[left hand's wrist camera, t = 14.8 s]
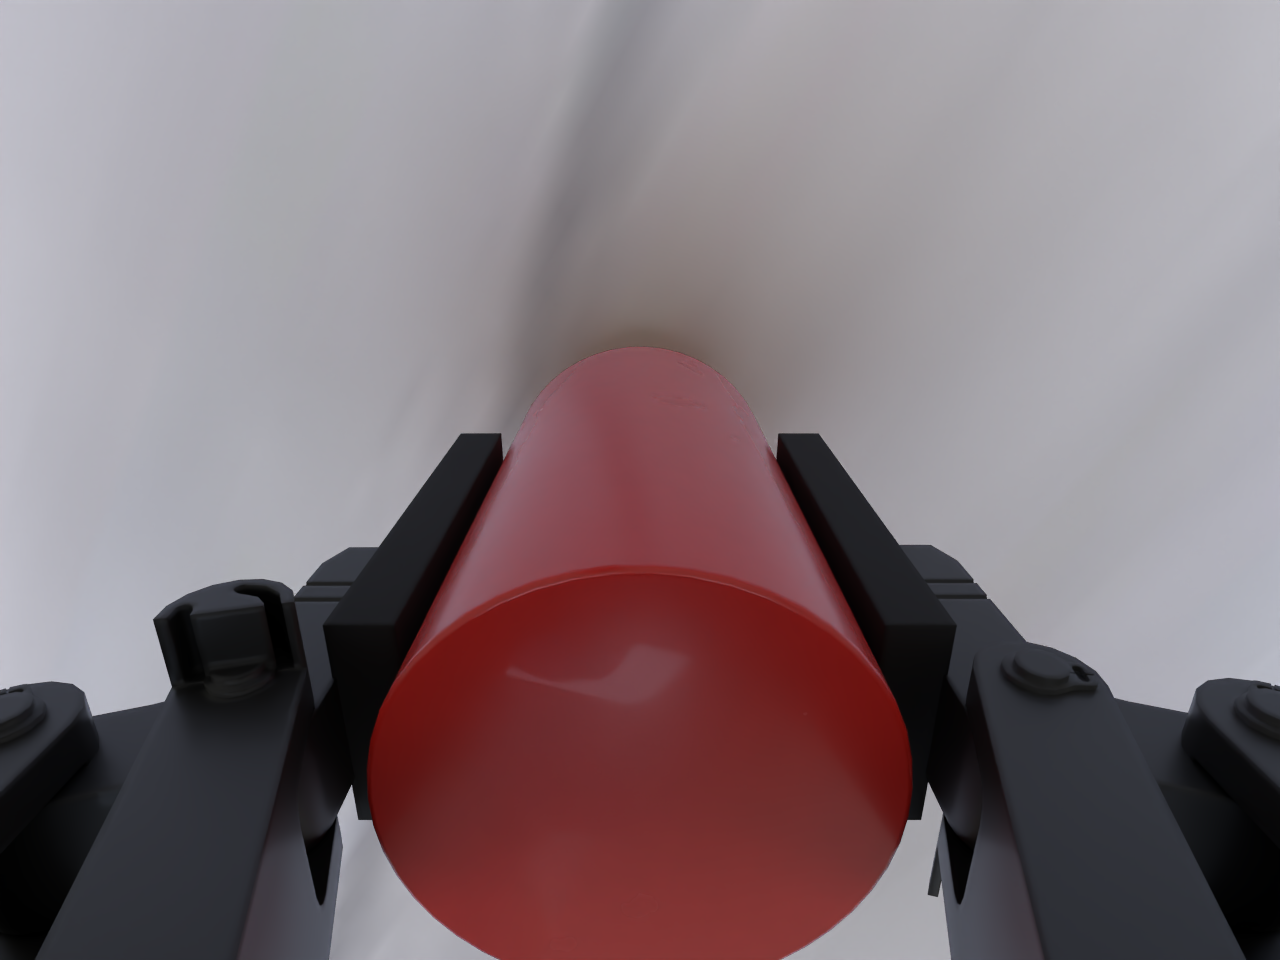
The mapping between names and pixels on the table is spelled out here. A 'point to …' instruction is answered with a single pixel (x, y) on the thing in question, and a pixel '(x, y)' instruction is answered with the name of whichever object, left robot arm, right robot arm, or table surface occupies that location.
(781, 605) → the canister
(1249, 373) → the table surface
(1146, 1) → the table surface
